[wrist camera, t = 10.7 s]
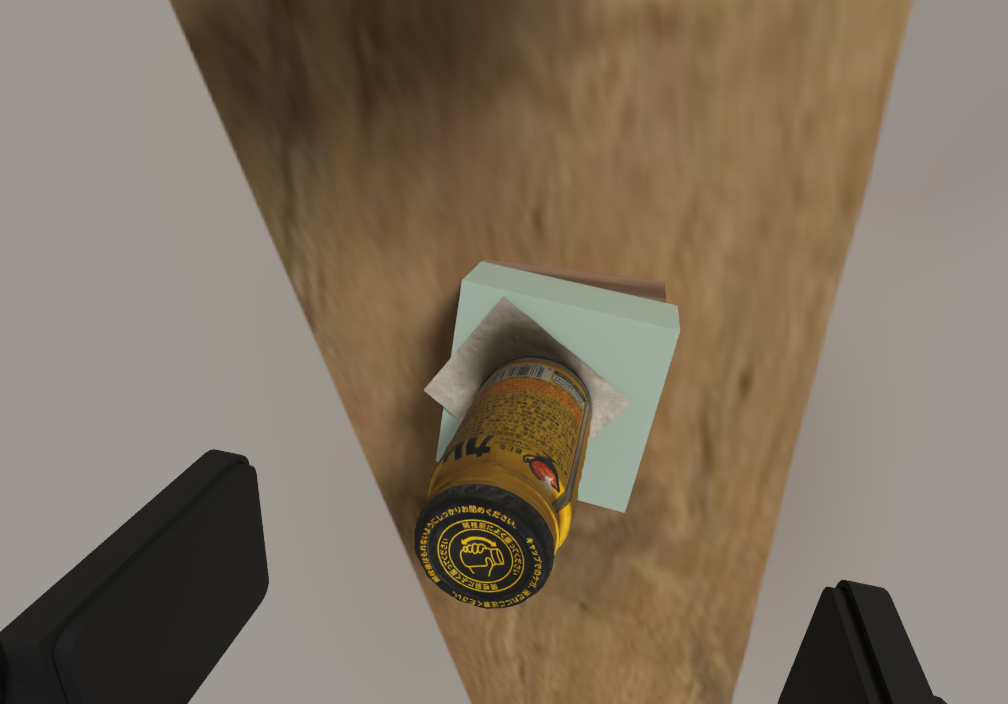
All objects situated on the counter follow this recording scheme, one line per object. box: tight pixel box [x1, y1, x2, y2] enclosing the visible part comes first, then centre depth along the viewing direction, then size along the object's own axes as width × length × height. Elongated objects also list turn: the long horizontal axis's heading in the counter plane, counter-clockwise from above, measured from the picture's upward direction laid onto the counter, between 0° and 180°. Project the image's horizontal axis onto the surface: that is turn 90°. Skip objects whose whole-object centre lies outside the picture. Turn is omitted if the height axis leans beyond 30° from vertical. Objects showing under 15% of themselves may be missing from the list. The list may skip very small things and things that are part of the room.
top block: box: [436, 261, 680, 513], centre depth 35 cm, size 11×11×4 cm
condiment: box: [415, 296, 631, 609], centre depth 28 cm, size 7×8×12 cm
